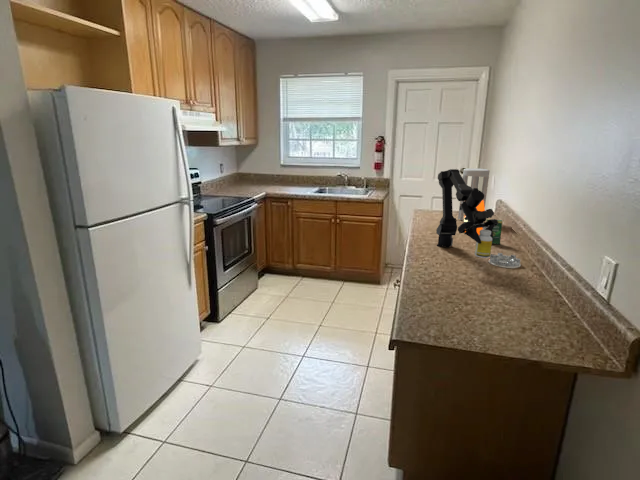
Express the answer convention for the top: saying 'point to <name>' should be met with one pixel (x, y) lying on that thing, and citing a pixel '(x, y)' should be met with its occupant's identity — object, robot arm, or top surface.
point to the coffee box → (497, 232)
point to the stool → (475, 182)
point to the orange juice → (479, 208)
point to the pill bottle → (484, 244)
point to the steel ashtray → (504, 261)
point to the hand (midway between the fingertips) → (486, 242)
